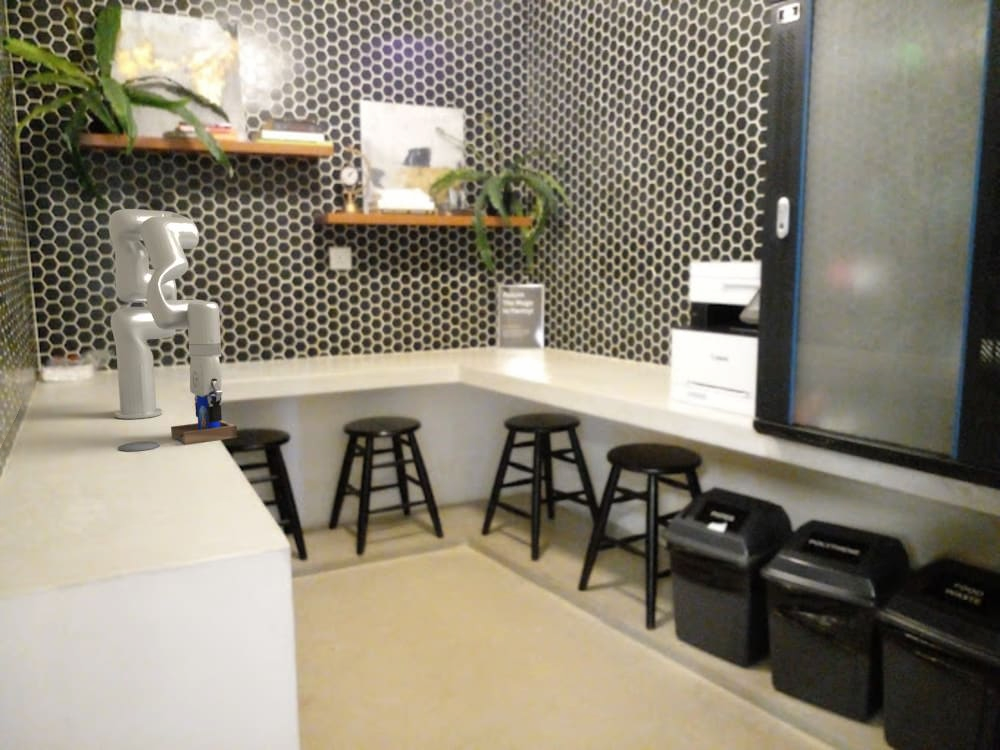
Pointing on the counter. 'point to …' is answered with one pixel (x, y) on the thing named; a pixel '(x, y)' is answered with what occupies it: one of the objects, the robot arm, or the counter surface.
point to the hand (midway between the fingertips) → (208, 418)
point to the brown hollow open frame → (203, 433)
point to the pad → (138, 446)
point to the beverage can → (204, 414)
